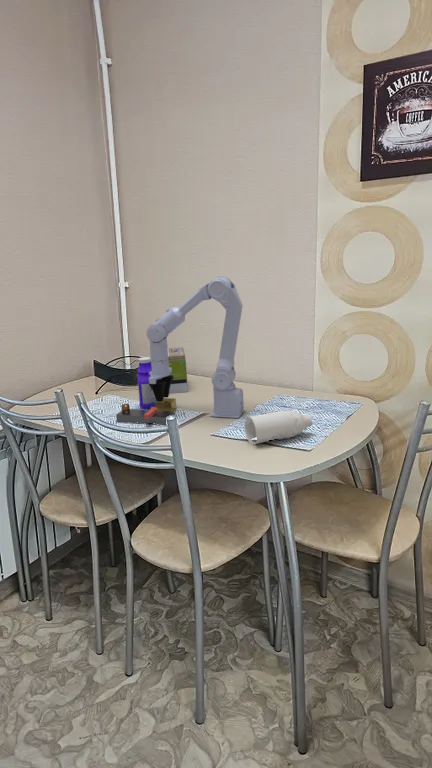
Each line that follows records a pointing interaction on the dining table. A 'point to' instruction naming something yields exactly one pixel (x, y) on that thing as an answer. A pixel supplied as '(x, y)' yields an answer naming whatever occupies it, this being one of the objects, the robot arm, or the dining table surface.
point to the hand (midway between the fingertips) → (162, 399)
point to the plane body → (141, 415)
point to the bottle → (145, 384)
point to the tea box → (177, 370)
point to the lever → (150, 413)
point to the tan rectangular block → (166, 405)
